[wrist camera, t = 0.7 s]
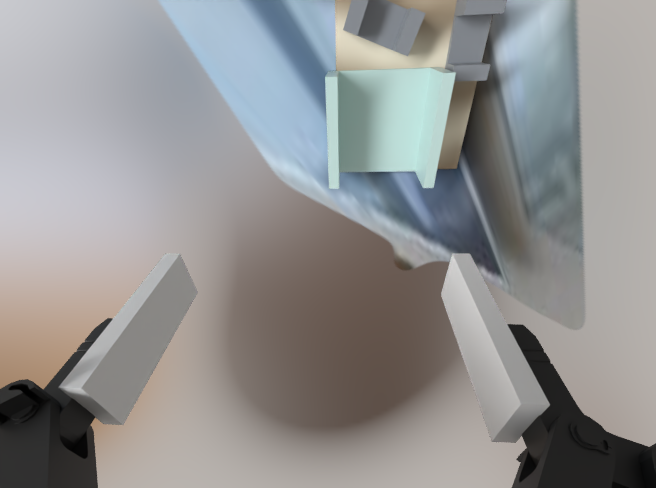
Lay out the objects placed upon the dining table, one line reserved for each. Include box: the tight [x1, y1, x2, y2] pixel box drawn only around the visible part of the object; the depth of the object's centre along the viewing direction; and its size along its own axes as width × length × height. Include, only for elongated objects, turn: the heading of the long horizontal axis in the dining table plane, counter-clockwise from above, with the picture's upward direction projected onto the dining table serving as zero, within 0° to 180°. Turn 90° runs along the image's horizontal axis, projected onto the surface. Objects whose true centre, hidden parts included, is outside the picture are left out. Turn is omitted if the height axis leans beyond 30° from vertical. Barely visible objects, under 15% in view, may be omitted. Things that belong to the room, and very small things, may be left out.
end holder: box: [325, 67, 456, 189], centre depth 28 cm, size 10×10×5 cm
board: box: [335, 0, 493, 169], centre depth 29 cm, size 17×14×1 cm
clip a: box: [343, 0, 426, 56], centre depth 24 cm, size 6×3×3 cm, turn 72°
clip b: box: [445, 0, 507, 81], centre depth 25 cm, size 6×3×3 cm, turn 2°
